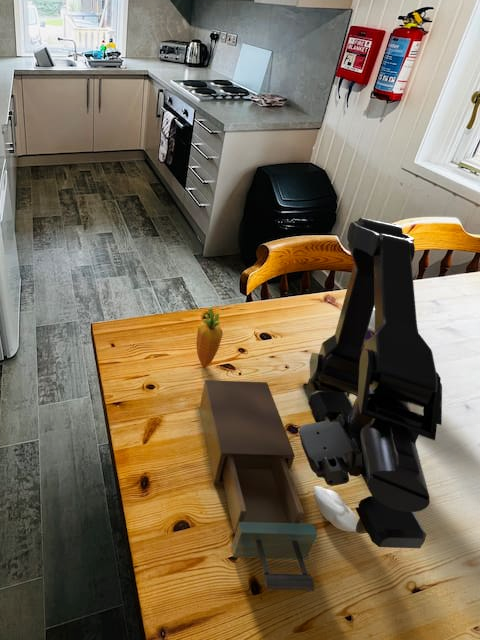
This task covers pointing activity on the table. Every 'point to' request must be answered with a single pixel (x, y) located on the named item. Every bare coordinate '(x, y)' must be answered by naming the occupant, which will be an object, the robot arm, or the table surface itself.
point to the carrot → (208, 338)
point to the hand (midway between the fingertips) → (342, 493)
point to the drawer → (268, 517)
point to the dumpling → (335, 509)
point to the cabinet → (241, 424)
